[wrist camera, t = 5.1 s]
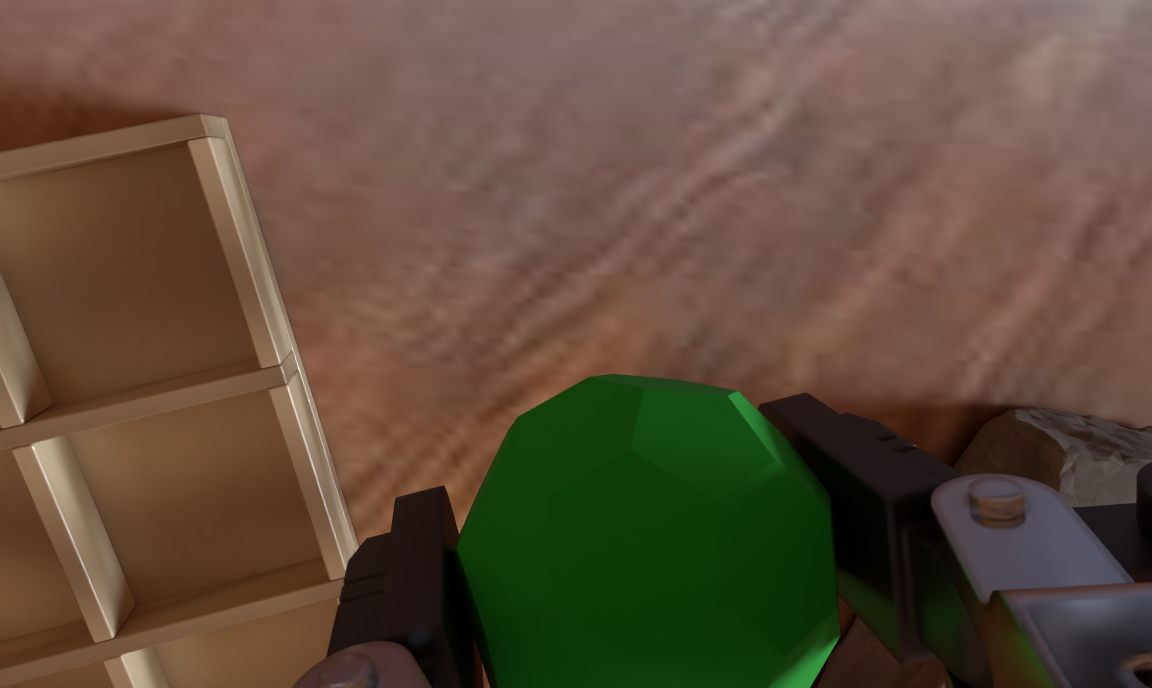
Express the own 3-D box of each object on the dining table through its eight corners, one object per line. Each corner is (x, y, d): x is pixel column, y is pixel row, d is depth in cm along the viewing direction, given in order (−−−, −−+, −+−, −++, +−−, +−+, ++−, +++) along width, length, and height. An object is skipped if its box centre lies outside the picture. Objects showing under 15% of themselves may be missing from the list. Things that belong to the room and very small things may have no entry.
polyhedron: (544, 667, 13) (598, 948, 8) (391, 436, 12) (358, 626, 7) (796, 523, 13) (985, 722, 9) (678, 277, 12) (827, 360, 7)
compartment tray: (-328, 224, 20) (-426, 232, 18) (226, 117, 22) (201, 112, 20) (-7, 842, 26) (-51, 909, 24) (413, 721, 28) (410, 771, 25)
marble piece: (793, 725, 31) (845, 810, 27) (895, 380, 28) (971, 417, 24) (1128, 745, 34) (1219, 823, 30) (1250, 439, 31) (1369, 481, 27)
